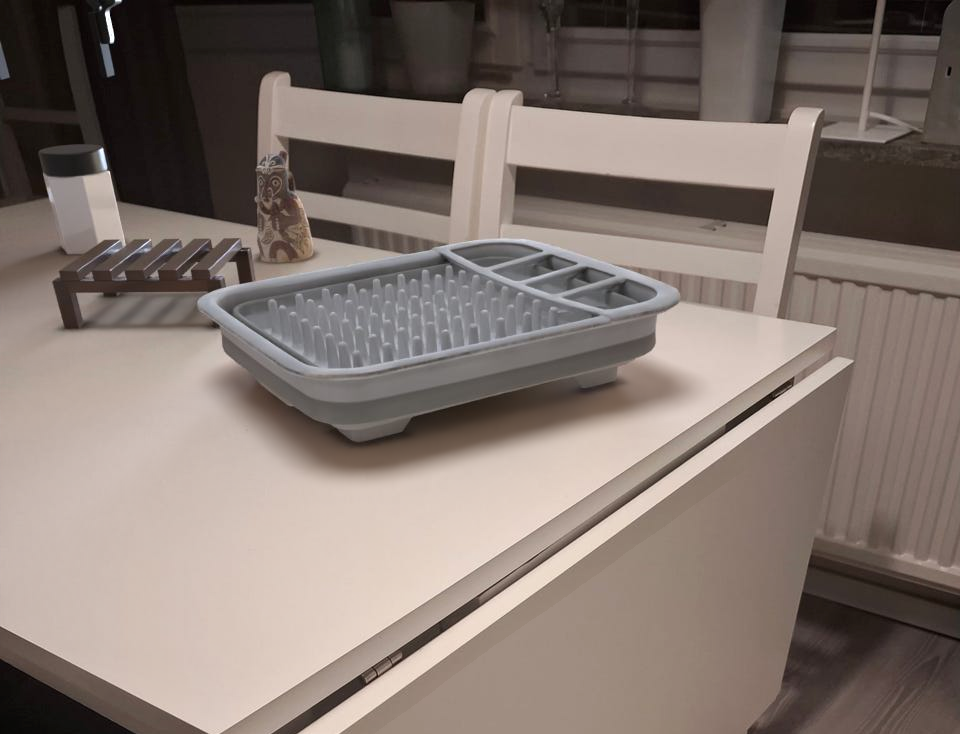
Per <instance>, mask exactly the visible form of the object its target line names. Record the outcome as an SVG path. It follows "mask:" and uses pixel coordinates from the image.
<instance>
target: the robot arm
mask: <svg viewBox="0 0 960 734" xmlns="http://www.w3.org/2000/svg"><path fill="white" fill-rule="evenodd" d="M122 1H123V0H85V2H86V3H87V4H88V5H89V6H90V7H91V8H92V10H91V11H92V12H87V18H88V23H89V27H90V31H91V36H92V41H93V44H94V45H93V46H94V50H95V54H96V58H97V63H98V68H99V72H100V77H101V78H110V77H113V76H115V69H114V65H113V60H112V55H111V51H110V46H109V45H110V44H114V42H115V34H114V29H113V25H112V20H111V16H110V11H111V9H112V8H113V7H115V6H117V5H119V4H121V3H122ZM10 77H11V76H10V73H9V69H8V65H7V61H6V58H5V54H4V51H3V46H2V43H1V41H0V81H3V80H5V79H9V78H10Z"/></svg>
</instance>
